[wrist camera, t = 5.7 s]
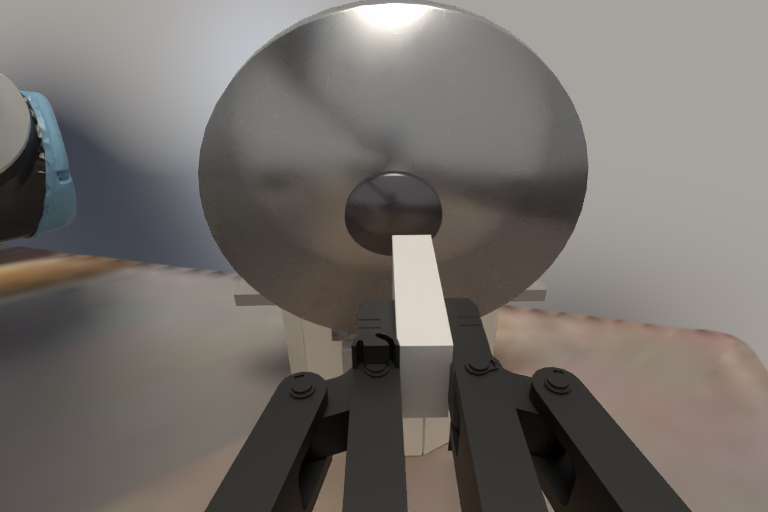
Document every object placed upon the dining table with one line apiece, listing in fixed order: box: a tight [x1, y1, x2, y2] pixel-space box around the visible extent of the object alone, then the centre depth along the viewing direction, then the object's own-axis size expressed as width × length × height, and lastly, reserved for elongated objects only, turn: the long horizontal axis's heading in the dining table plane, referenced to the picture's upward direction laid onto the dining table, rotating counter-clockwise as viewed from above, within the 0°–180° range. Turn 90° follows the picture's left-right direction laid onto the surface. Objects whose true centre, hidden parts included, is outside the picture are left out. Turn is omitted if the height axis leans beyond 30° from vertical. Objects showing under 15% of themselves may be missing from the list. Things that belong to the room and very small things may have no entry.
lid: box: [198, 0, 588, 341], centre depth 22 cm, size 18×17×2 cm
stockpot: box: [234, 278, 546, 456], centre depth 38 cm, size 17×23×11 cm
